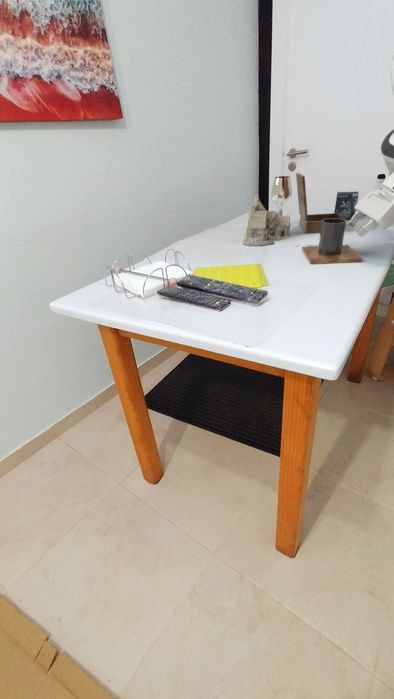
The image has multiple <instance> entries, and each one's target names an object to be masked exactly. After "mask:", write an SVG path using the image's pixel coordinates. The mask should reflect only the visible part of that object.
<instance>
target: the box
mask: <svg viewBox="0 0 394 699" xmlns="http://www.w3.org/2000/svg"><path fill="white" fill-rule="evenodd" d="M359 194H360V193H359V191H337V192H336V197H335V206H334V212H333V213H337V214H339V215H340V216H342V217H343V218H344V219H346V221H350V220H351V218H352V217H353V215H354V214H355V213H356V212H357V211H356V210H355V208H354V207H355V205H356V204H357V203H358V202H359V196H360V195H359Z"/></svg>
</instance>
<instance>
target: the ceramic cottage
mask: <svg viewBox="0 0 394 699" xmlns="http://www.w3.org/2000/svg"><path fill="white" fill-rule="evenodd" d="M253 200H254V203H251V204H250V205H249V210H248V214H247V216H248V217H247V226H246V227H245V228H246V229H245V232H244V233H243V240H242V244H243V245H245V246H249V247H250V246H251V247H256V246H257V247H260V246H268V245H272V244H273V245H274V244H275V241H280V240H285V239H289V238H290V230H291V225H292V224H291V216H290V215H283V209H282V208H281V209H278V212H277V211H276V210H266V208H265V206H264V205H263V204H262V202H261V201H260V196H259V194H255V195H254V199H253Z"/></svg>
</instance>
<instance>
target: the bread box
mask: <svg viewBox="0 0 394 699" xmlns="http://www.w3.org/2000/svg"><path fill="white" fill-rule="evenodd" d="M307 215H308V221H305V220H304V219H303V217H302V216H301V215H300V214H299V228H300V229H301V230H302V231H303V233H304V234H305V235H307V234H320V231H321V223H322V220H324V219H331V218H338V219H344V218H343V217H342V216H340V215H339V214H337V213H334V212H331V213H315V214H307ZM344 220H346V219H344ZM346 221H347V220H346Z"/></svg>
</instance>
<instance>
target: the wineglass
mask: <svg viewBox="0 0 394 699" xmlns="http://www.w3.org/2000/svg"><path fill="white" fill-rule="evenodd" d="M292 195H293V184H292V180H291V176H289V175H281V176H275V177H273V181H272V185H271V189H270V198H271V200H272V201H273V203H275V205H277V206H278V208H279V209H282V208H283V206H284V205H285V204H287V202H289V201H290V199H291V198H292ZM279 209H278V210H279Z"/></svg>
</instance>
